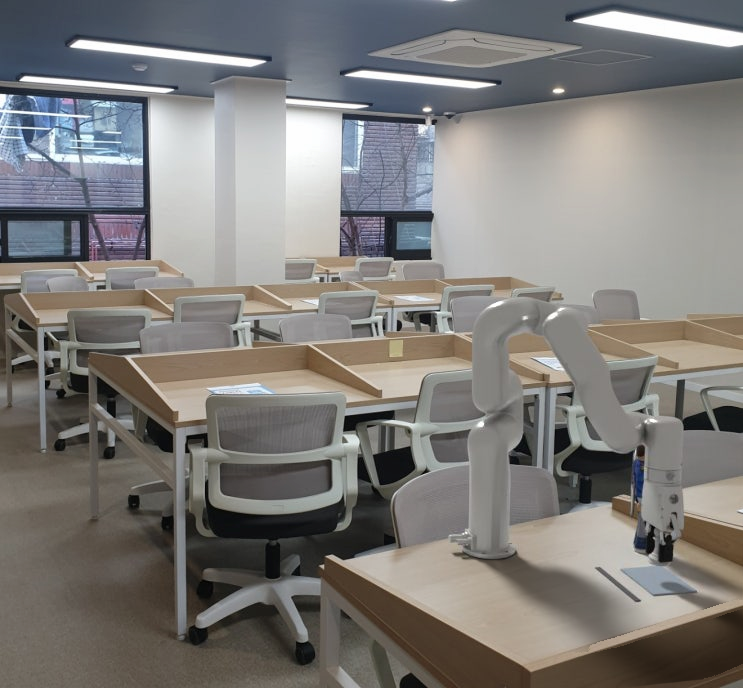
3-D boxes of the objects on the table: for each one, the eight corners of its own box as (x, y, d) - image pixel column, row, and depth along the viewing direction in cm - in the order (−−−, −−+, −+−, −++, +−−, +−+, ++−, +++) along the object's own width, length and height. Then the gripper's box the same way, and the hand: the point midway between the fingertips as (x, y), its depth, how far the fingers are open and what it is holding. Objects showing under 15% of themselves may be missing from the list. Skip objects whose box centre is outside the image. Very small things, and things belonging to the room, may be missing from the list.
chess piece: (644, 558, 186) (645, 523, 185) (665, 558, 186) (666, 522, 185) (652, 566, 181) (653, 530, 181) (673, 566, 182) (675, 530, 181)
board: (635, 601, 174) (635, 600, 174) (595, 568, 191) (595, 566, 191) (702, 595, 177) (702, 594, 177) (656, 563, 194) (656, 562, 194)
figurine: (656, 558, 198) (662, 431, 194) (629, 556, 199) (635, 430, 195) (651, 542, 208) (657, 421, 204) (625, 540, 209) (631, 420, 205)
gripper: (701, 484, 174) (697, 570, 176) (657, 463, 191) (654, 542, 193) (667, 486, 173) (663, 573, 175) (626, 465, 189) (623, 544, 191)
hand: (659, 556), depth 184 cm, fingers closed on chess piece, 4 cm apart
